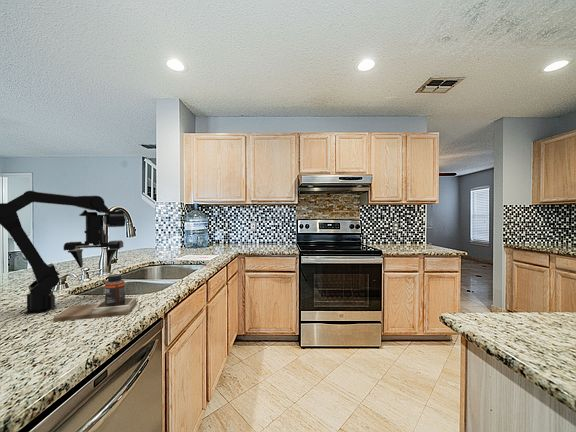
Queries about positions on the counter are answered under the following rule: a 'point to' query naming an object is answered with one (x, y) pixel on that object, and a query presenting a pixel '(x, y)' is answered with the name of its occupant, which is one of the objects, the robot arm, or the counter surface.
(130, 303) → the walnut board
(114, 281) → the supplement bottle
